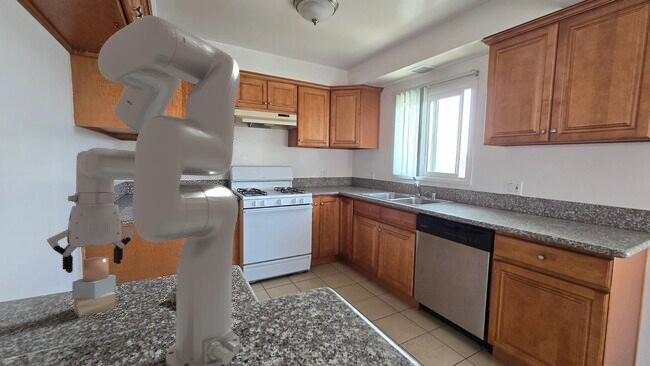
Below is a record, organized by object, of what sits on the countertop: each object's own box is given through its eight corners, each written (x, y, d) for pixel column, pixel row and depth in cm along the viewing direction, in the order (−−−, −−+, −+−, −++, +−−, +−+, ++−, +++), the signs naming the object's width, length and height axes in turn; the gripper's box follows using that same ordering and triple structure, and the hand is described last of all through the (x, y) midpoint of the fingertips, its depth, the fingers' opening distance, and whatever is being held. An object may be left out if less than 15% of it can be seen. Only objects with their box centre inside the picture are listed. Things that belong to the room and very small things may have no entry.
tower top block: (115, 290, 73) (115, 275, 73) (94, 299, 67) (94, 282, 67) (94, 289, 74) (95, 274, 74) (72, 298, 68) (72, 281, 68)
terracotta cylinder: (111, 277, 71) (111, 258, 71) (86, 283, 67) (87, 262, 67) (104, 274, 74) (104, 255, 74) (80, 279, 70) (80, 259, 70)
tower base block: (115, 309, 71) (115, 293, 71) (79, 319, 66) (79, 301, 66) (108, 301, 76) (108, 287, 76) (73, 310, 70) (73, 294, 70)
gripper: (51, 201, 62) (49, 279, 62) (139, 199, 76) (138, 262, 75) (45, 200, 66) (43, 272, 66) (129, 198, 80) (128, 258, 80)
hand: (94, 267), depth 71 cm, fingers open, 9 cm apart
